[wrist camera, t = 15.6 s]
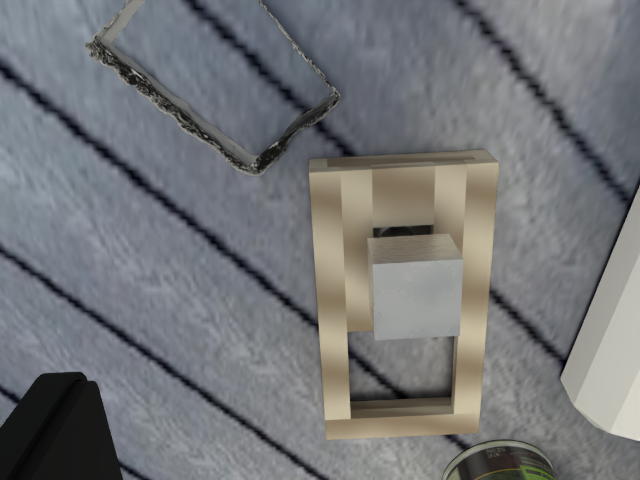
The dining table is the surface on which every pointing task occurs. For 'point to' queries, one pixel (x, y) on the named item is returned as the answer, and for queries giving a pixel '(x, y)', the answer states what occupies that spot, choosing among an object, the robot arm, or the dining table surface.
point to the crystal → (611, 342)
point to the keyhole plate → (353, 286)
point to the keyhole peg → (414, 283)
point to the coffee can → (501, 463)
